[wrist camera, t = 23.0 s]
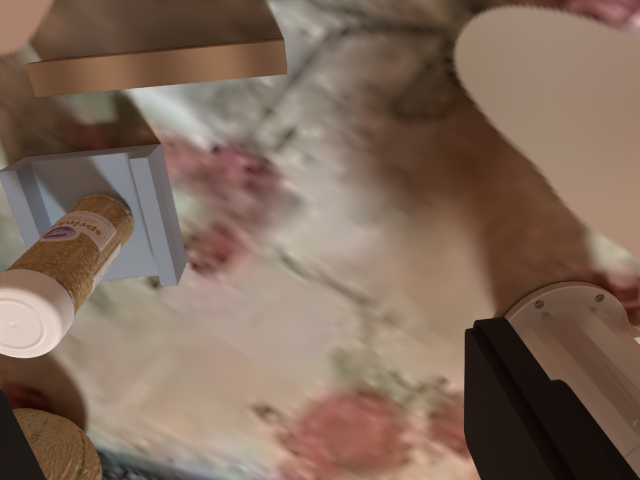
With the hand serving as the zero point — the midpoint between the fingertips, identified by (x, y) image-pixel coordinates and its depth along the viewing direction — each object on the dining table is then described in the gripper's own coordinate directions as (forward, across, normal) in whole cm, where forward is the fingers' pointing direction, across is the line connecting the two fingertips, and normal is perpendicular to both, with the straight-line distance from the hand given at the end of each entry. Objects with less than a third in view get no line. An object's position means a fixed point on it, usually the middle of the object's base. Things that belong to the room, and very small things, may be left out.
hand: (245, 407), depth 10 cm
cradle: (+29, +14, +5) cm, 33 cm away
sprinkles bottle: (+27, +14, +5) cm, 31 cm away
